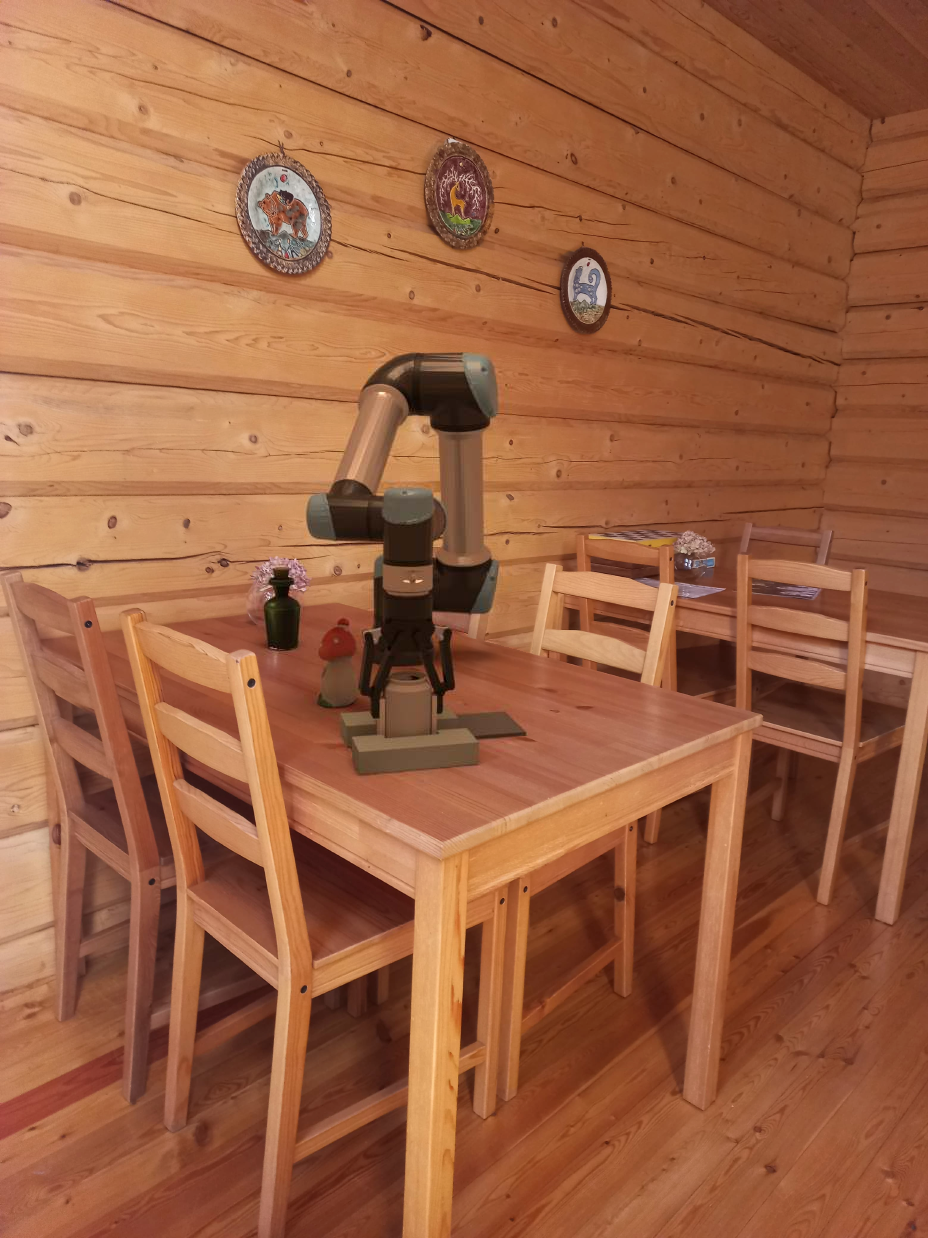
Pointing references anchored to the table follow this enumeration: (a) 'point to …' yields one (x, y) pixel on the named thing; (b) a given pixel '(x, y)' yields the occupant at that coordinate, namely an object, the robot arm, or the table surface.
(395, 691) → the can
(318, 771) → the table surface
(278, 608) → the potion bottle
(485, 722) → the coaster
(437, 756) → the pocket block
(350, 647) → the decorative ornament
